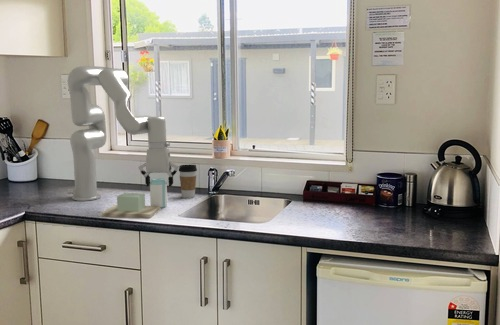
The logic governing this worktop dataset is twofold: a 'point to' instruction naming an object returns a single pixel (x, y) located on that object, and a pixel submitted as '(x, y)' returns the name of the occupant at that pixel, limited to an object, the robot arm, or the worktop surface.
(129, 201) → the sage brick
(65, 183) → the worktop surface
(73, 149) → the robot arm
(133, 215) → the birch board
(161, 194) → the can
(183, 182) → the coffee cup
